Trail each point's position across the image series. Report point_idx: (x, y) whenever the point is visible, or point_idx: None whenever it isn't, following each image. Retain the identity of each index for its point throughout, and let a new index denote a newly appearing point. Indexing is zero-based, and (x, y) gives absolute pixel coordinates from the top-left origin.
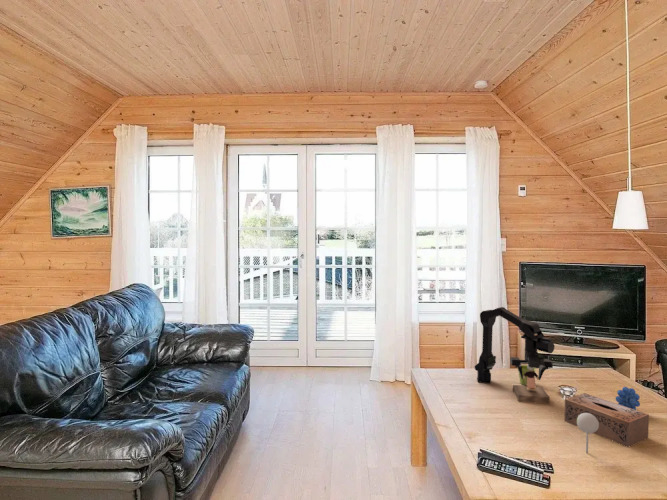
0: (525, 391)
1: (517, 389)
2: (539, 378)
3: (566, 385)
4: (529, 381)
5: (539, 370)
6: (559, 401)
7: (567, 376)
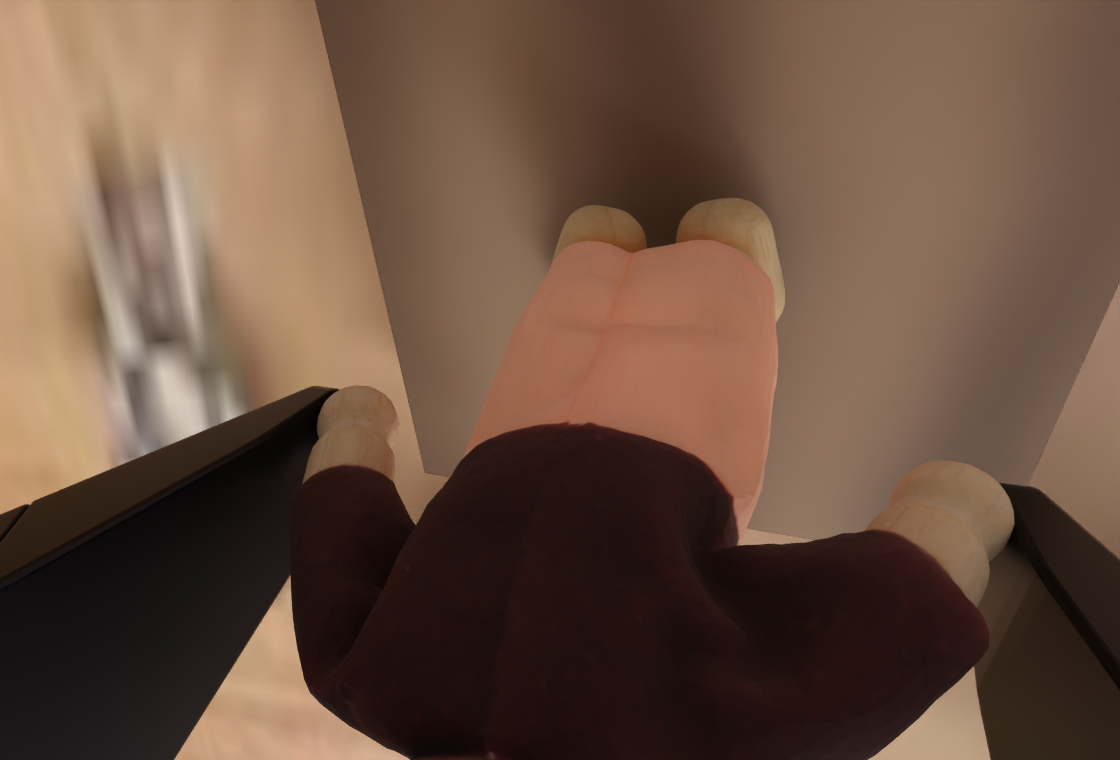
0: (846, 197)
1: (1030, 320)
2: (295, 411)
3: None
4: (696, 359)
5: (98, 753)
6: (215, 49)
7: (237, 723)
